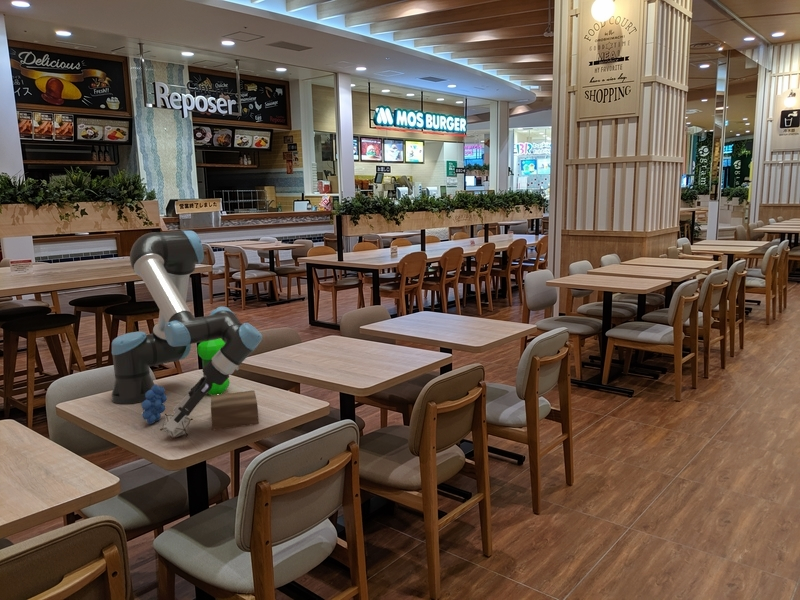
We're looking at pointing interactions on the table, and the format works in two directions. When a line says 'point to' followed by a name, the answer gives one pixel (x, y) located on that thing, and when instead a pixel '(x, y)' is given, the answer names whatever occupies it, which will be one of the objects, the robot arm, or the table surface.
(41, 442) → the table surface
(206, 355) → the plastic bottle
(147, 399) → the grapes
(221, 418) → the walnut block
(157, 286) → the robot arm
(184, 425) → the white wireframe polyhedron
